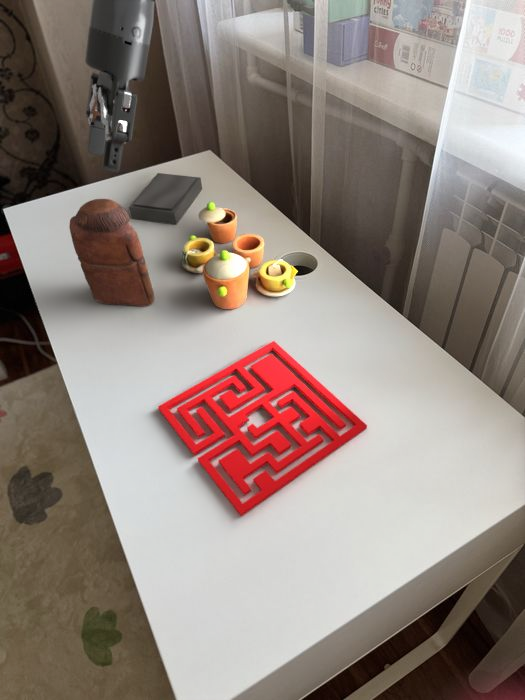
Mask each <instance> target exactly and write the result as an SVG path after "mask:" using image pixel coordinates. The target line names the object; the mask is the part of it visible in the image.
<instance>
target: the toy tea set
mask: <svg viewBox="0 0 525 700" xmlns="http://www.w3.org/2000/svg"><path fill="white" fill-rule="evenodd" d="M197 216H198V219H199V220H200V221H201V222H204V223H206V224H207V227H208V230H209V234H210V237H211V239H212V240H211V239H209V238H206V237H197V236H196V235H190V236H189V237H188V241H187V242H185V244H184V246H183V250H182V251H181V252H182V255H183V256H182V257H183V258H182V262H181V263H182V267H183V268H184V269H185V270H187V272H190V273H195V274H202V276H203V278H204V281H205V285H206V286H207V290H208V292H209V295H210V298H211V301H212V302H213V304H214V306H216V307H217V308H220V309H222V310H223V309H224V310H234V309H237V308H240V307H241V306H242V305H243V304H244V303H245V302H246V300H247V297H248V286H249V278H250V277H249V276H250V269H253V268H257V267H258V266H259V269H256V270H254V271H253V272H252V274H251V275H252V277H253V278H255V279H256V280H255V287H256V290H257V291H258V292H259V293H261V294H262V295H263V296H267V297H274V298H275V297H276V298H277V297H283V296H286V295H287V294H289V293H291V292H292V291H293V290H294V288H295V286H296V280H295V276H296V275H297V273H298V272H299V271H298V270H297V269H296V268H295V267H294V266H293V265H292V264H291V265H290V264H289V263H288V262H286V261H284V260H283V259H271V260H268V261H265V262H263V257H264V249H265V240H264V238H263V237H262V236H260V235H258V234H254V233H244V234H240V235H238V236H236V234H237V222H238V220H237V219H238V214H237V212H236V211H234V210H233V209H231V208H227V207H226V208H225V207H219V206H218V205H215V203H214V202H213V201H209V202H207V203H206V206H205V207H204V208H202V209H201V210H200V211H199V212H198V215H197ZM213 241H214V242H216V243H219V244H227V243H230V242H231V241H232V242H231V246H232V250H233V252H230V251H227V250H225V249H223V250H221V251H220V252H219V253H217V252H216V251H215V243H214V242H213ZM262 262H263V263H262Z"/></svg>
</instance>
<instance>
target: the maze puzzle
mask: <svg viewBox="0 0 525 700" xmlns="http://www.w3.org/2000/svg"><path fill="white" fill-rule="evenodd" d="M271 352H274V353H275V354H276V355H277V356H278V357H280V358H281V359H282V360H283V361H284V362H285V363H286V364H287V365H288V366H289V367H290V368H291V369H292V370H293V371H294V372H296V373H297V374H298V375H299V376H300V377H301V378H302V379H303V380H304V381H305V382H306V383H307V384H309V386H311V387H312V388H313V389H314V390H315V391H316V392H317V393H318V394H319V395H320V396H321V397H323V399H325V400H326V401H327V402H328V403H329V404H330V405H331V406H332V407H333V408H334V409H335V410H336V411H338V413H340V414H341V415H342V416H343V417H344V418H345V419H346V420H347V421H349V423H351V424H352V425H353V426H352V427H350V428H349V429H348V430H347V431H345V432H344V433H342V434H341V435H340V434H339V433H338V432H337V431H335V430H334V428H333V427H331V426H330V424H329V423H327V421H325V420H324V419H323V418H322V417H321V416H320V415H319V414H318V412H316V411H315V410H314V409H313V408H312V407H311V406H310V405H309V404H308V403H307V402H305V400H303V399H302V398H301V397H300V395H298V393H297V392H295V390H293V391H291V392H290V393H287V392H288V391H290V390H291V389H293V388H296V390H298V392H299V393H300V394H302V396H304V397H305V398H306V400H307V401H309V402H310V403H311V404H312V405H313V406H314V407H315V408H316V409H317V410H318V411H319V412H320V413H322V414H323V415H324V416H325V417H326V418H327V419H328V420H329V421H330V422H331V423H332V424H333V425H334V426H335V427H336V428H337V429H338V430H339V431H342V430H344V428H346V426H347V423H346V422H345V421H344V420H343V419H342V418H341V417H340V416H339V415H338V414H337V413H335V412H334V410H332V408H330V407H329V406H328V405H327V404H326V402H324V401H322V399H321V398H320V397H318V396H317V394H315V393H314V392H313V391H312V390H311V389H310V388H309V387H308V386H307V385H306V384H305V383H304V382H303V381H302V380H300V378H298V377H297V376H296V375H295V374H294V372H292V371H291V370H290V369H289V368H288V367H286V366H285V364H283V363H282V362H281V361H280V360H279V359H278V358H277V357H276V356H275V355H274V354H272V353H271ZM269 353H270V354H269ZM267 354H268V355H267ZM265 355H266V356H265ZM263 356H265V357H263ZM262 357H263V358H262ZM260 358H261V359H260ZM255 361H256V362H255ZM253 362H254V363H253ZM250 364H251V365H250ZM248 365H250V370H251V371H252V372H253V373H255V375H256V376H258V378H259V379H260V380H261V381H262V382H263V383H264V384H265V385H266V386H267V387H268V388H269V389H270V390H271V391H269V392H268V393H266V394H264V393H265V392H266V388H265V387H264V386H263V385H262V384H261V383H260V382H259V381H258V380H257V379H256V378H255V377H254V376H253V374H251V373H250V372H249V371H248V370H247V369H246V368H245V367H246V366H248ZM235 372H236V373H237V374H238V375H239V376H240V377H241V378H242V379H243V380H244V381H245V382H246V383H247V384H248V385H249V386H250V387H251V390H249V391H247V388H246V385H244V384H243V383H242V381H241V380H240V379H239V378H238V377H237V376H236V375H234V373H235ZM232 374H233V375H232ZM231 375H232V376H231ZM229 376H230V377H229ZM227 377H228V378H227ZM225 378H227V379H225ZM224 379H225V380H224ZM222 380H223V381H222ZM220 381H222V382H220ZM218 382H220V383H218ZM216 383H218V384H216ZM215 384H216V385H215ZM214 385H215V386H214ZM211 386H212V387H211ZM232 386H233V387H234V388H235V390H237V391H238V393H240V394H242V393H243V392H245V391H247V392H246V393H244V394H242V395H241V396H239V397H238V395H237V394H236V393H235V392H234V391H233V390H232V389H229V388H231V387H232ZM209 387H211V388H209ZM207 388H209V389H207ZM206 389H207V390H206ZM227 389H229V390H227ZM205 390H206V391H205ZM226 390H227V391H226ZM202 391H204V392H202ZM224 391H225V392H224ZM201 392H202V393H201ZM222 392H224V393H222ZM199 393H201V394H199ZM220 393H222V394H221V395H219V400H220V402H222V404H223V405H224V406H225V407H226V408H227V409H228V410H229V411H230V412H231V413H232V412H234V411H236V410H237V409H239V408H240V407H242V406H244V405H246V404H247V403H249V402H250V401H252V400H254V399H255V398H257V397H259V398H258V399H256V400H254V401H253V402H251V403H249V404H248V405H246V406H244V407H243V408H242V409H240V410H238V411H237V412H235V413H233V414H231V415H230V416H229V415H228V414H227V413H226V412H225V410H223V408H222V407H221V406H220V405H219V404H218V403H217V402H216V400H215V399H213V398H214V397H215V396H217V395H218V394H220ZM285 393H287V394H286V395H285V396H283V397H281V396H282V395H284V394H285ZM262 394H264V395H262ZM196 395H197V396H196ZM261 395H262V396H261ZM194 396H195V397H194ZM260 396H261V397H260ZM279 397H281V398H279ZM191 398H192V399H191ZM277 398H279V399H278V400H277V401H276V404H277V406H278V407H279V408H280V409H283V408H285V407H286V406H288V405H290V404H292V403H293V404H294V405H295V406H296V407H297V408H298V409H299V410H300V411H301V412H302V413H303V414H304V415H305V416H306V417H307V418H305V419H304V420H302V421H300V422H299V423H298V427H299V428H300V429H301V431H303V432H304V433H305V434H306V435H307V436H311V435H313V433H315V432H317V431H318V430H321V431H322V433H324V434H325V436H326V437H328V438H329V440H331V441H330V442H329V443H328V444H326V445H325V446H323V447H322V448H321V449H319V450H317V451H316V452H315V453H313V454H312V455H310V456H309V457H307V458H306V459H305V460H303V461H302V462H300V463H299V464H297V465H296V466H294V467H293V468H292V469H290V470H288V471H287V472H286V473H285V474H283V475H282V476H279V478H277V479H276V480H275V479H274V478H273V477H272V476H271V474H270V473H269V472H268V471H267V470H264V471H262V472H260V473H259V474H258V475H256V476H255V477H253V478H252V481H253V483H254V484H255V486H256V487H257V488H258V489H259V491H258V492H256V493H255V494H254V495H253V496H251V497H250V498H248V499H247V500H245V501H244V502H242V500H240V498H239V497H238V496H237V494H236V493H235V492H234V490H233V489H232V488H231V487H230V485H229V484H228V483H227V481H226V480H225V479H224V477H223V476H222V475H221V474H220V472H219V471H218V470H217V469H216V467H215V466H214V465H213V464H212V462H211V461H213V460H215V459H217V458H218V457H219V456H221V455H222V454H223V453H225V452H227V451H229V450H230V449H232V448H234V447H235V446H236V445H239V444H240V445H241V446H242V447H243V449H244V450H245V451H246V452H247V453H248V454H249V455H250V457H252V458H254V457H255V456H257V455H258V454H260V453H261V452H264V450H266V449H267V448H269V447H271V448H272V449H273V450H274V451H275V453H276V454H277V455H278V456H281V455H282V454H284V453H286V452H287V451H289V450H290V449H291V448H292V444H291V442H289V441H288V440H287V438H286V437H285V436H284V435H283V434H282V433H281V432H280V431H279V430H275V431H274V432H272V433H271V434H269V435H268V436H266V437H264V438H263V439H262V440H260V441H258V442H257V443H255V444H254V443H252V442H251V440H250V439H249V438H248V437H247V436H246V435H245V434H244V432H243V431H242V430H241V429H240V428H241V427H243V426H244V424H245V423H247V422H250V419H249V417H248V416H250V415H252V414H253V413H254V412H256V411H258V410H259V409H261V408H262V409H263V410H264V411H265V413H267V414H268V415H269V416H270V417H271V418H270V419H269V420H267V421H266V422H264V423H263V424H261V425H260V426H258V427H257V426H256V425H255V424H254V423H251V424H249V425H248V426H247V427H246V430H247V432H248V433H249V434H250V435H251V436H252V437H253V438H254V440H257V439H259V438H260V437H262V436H264V435H265V434H267V433H269V432H270V431H271V430H273V429H275V428H277V427H278V426H280V427H281V429H282V430H283V431H284V432H285V433H286V434H287V435H288V436H289V437H290V438H291V439H292V440H293V441H294V442H295V443H296V444H297V446H298V447H297V448H296V449H294V450H293V451H292V452H290V453H289V454H287V455H286V456H284V457H283V458H281V459H280V460H277V459H276V458H275V457H274V456H273V454H272V453H271V452H270V451H267V452H265V453H264V454H263V455H261V456H259V457H258V458H256V459H255V460H254V461H252V462H251V463H250V462H249V460H248V459H247V458H246V457H245V456H244V454H243V453H242V452H241V450H239V448H235V449H234V450H232V451H231V452H230V453H228V454H226V455H224V456H223V457H222V458H220V459H218V464H219V465H220V466H221V467H222V469H223V470H224V471H225V473H226V474H227V475H228V477H230V479H231V481H232V482H233V483H234V484H235V485H236V487H237V488H238V489H239V490H240V491H241V493H242V494H243V495H244V496H247V495H249V494H251V492H252V487H250V485H249V484H248V483H247V482H246V481H245V479H247V478H249V477H250V476H252V475H253V474H254V473H256V472H257V471H259V470H260V469H262V468H263V467H264V466H266V465H268V466H269V467H270V469H272V470H273V472H274V473H275V474H276V475H277V474H279V473H281V472H282V471H283V470H285V469H286V468H288V467H290V466H291V465H292V464H294V463H295V462H297V461H298V460H299V459H301V458H302V457H304V456H305V455H307V454H308V453H309V452H311V451H313V450H314V449H316V448H317V447H318V446H320V445H322V444H323V443H324V442H325V438H323V436H322V435H321V434H320V433H318V434H316V435H315V436H314V437H312V438H311V439H309V440H307V439H306V438H305V437H303V435H302V434H301V433H300V432H299V431H298V430H297V429H296V428H295V427H294V426H293V424H294V423H295V422H297V421H299V420H300V419H301V414H300V413H299V412H298V411H296V409H294V407H293V406H290V407H288V408H286V409H285V410H284V411H282V412H280V411H279V410H278V409H277V408H276V407H275V406H274V405H273V404H272V403H271V402H272V401H274V400H276V399H277ZM189 399H190V400H189ZM187 400H188V401H187ZM186 401H187V402H186ZM184 402H185V403H184ZM182 403H183V404H182ZM203 403H205V404H206V405H207V406H208V408H209V409H210V410H211V412H212V413H214V415H215V416H216V417H217V418H218V419H219V421H221V423H222V424H223V425H224V426H225V428H227V430H228V431H229V432H230V433H231V434H232V436H231V437H229V438H228V439H226V440H224V441H223V442H221V443H219V444H218V445H217V446H214V447H213V448H211V449H210V450H208V451H207V452H205V453H203V454H202V455H200V456H198V457H197V461H198V463H199V464H200V466H201V467H202V468H203V469H204V471H205V472H206V473H207V474H208V476H209V477H210V478H211V480H212V481H213V482H214V484H215V485H216V486H217V487H218V488H219V490H220V492H221V493H222V494H223V495H224V496H225V498H226V499H227V501H228V502H229V503H230V504H231V506H232V507H233V508H234V509H235V511H236V512H237V513H238V515H239V516H240V517H243V516H244V515H246V514H248V513H249V512H250V511H252V510H253V509H254V508H256V507H257V506H259V505H260V504H261V503H263V502H264V501H265V500H267V499H268V498H270V497H271V496H273V495H274V494H276V493H277V492H279V491H280V490H282V489H283V488H284V487H285V486H287V485H288V484H290V483H292V482H293V481H294V480H295V479H297V478H298V477H300V476H301V475H303V474H304V473H305V472H307V471H309V470H311V468H313V467H314V466H316V465H317V464H318V463H320V462H322V461H323V460H324V459H325V458H327V457H328V456H330V455H331V454H333V453H334V452H336V451H337V450H338V449H340V448H341V447H343V446H344V445H346V444H347V443H348V442H350V441H351V440H352V439H354V438H355V437H357V436H358V435H360V434H361V433H363V432H364V431H365V430H367V429H368V424H367V423H365V422H364V421H363V420H362V419H360V417H359V416H358V415H356V414H355V413H354V412H353V411H352V410H351V409H350V408H348V407H347V406H346V405H345V404H344V403H343V402H342V401H341V400H340V399H338V397H336V395H334V394H333V393H332V392H331V391H330V390H329V389H328V388H327V387H326V386H324V385H323V384H322V383H321V382H320V381H319V380H318V379H316V377H314V376H313V374H311V373H310V372H309V371H308V370H307V369H306V368H305V367H304V366H303V365H301V364H300V363H299V362H298V361H297V360H296V359H295V358H293V356H291V355H290V354H289V353H288V352H287V351H286V350H285V349H283V348H282V347H281V345H279V344H278V343H277V342H276V341H275V340H272V341H271V342H269V343H267V344H266V345H264V346H262V347H260V348H258V349H257V350H254V351H253V352H251V353H250V354H248V355H246V356H243V358H241V359H239V360H237V361H235V362H233V363H232V364H230V365H228V366H226V367H225V368H223V369H221V370H220V371H218V372H216V373H214V374H212V375H211V376H209V377H207V378H205V379H204V380H202V381H200V382H198V383H196V384H195V385H193V386H191V387H190V388H187V389H186V390H184V391H183V392H181V393H179V394H176V396H173V397H172V398H170V399H168V400H167V401H165V402H163V403H161V404H160V405H158V406H157V409H158V411H159V412H160V414H162V416H163V417H164V418H165V420H166V421H167V422H168V423H169V425H170V426H171V428H172V429H173V430H174V431H175V433H176V434H177V435H178V437H179V438H180V439H181V441H182V442H183V444H185V446H186V447H187V448H188V450H189V451H190V452H191V454H192V455H193V456H194V457H195V456H197V455H199V454H200V453H202V452H204V451H205V450H206V449H208V448H210V447H211V446H213V445H215V444H216V443H218V442H219V441H221V440H223V439H225V437H226V433H225V432H224V431H223V429H222V428H221V427H220V425H218V424H217V423H216V421H215V420H214V418H213V417H212V416H211V415H210V414H209V413H208V412H207V411H206V410H205V408H204V407H203V406H200V405H202V404H203ZM180 404H181V405H180ZM178 405H179V406H178ZM176 406H178V407H176ZM198 406H200V407H198ZM175 407H176V410H177V411H176V412H177V413H178V414H179V415H180V416H181V418H182V419H183V420H184V421H185V423H186V424H187V425H188V427H190V429H191V430H192V432H193V433H194V434H195V435H196V436H197V438H198V439H201V438H203V437H204V436H206V432H205V430H204V429H203V428H202V426H201V425H200V424H199V423H198V422H197V420H196V418H194V417H193V416H192V414H191V413H190V411H192V410H193V409H195V408H196V409H195V412H196V415H198V417H199V418H200V419H201V420H202V421H203V423H204V424H205V425H206V426H207V428H208V429H209V430H210V431H211V432H212V434H209V436H207V437H205V438H204V439H202V440H201V441H199V442H198V443H196V442H195V441H194V440H193V438H192V437H191V435H190V434H189V432H187V430H186V429H185V428H184V427H183V426H182V424H181V423H180V422H179V420H178V419H177V417H176V416H175V415H174V414H173V412H172V411H171V409H174V408H175ZM197 407H198V408H197Z"/></svg>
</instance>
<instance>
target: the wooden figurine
mask: <svg viewBox="0 0 525 700" xmlns="http://www.w3.org/2000/svg"><path fill="white" fill-rule="evenodd" d="M130 222H131V216H130V214H129V213H128V212H127V210H126V209H125V208H124V207H123V206H122V205H121V204H120V203H118V202H117V201H115V200H113V199H109V198H94V199H91V200H89V201H86V202H84V203H83V204H82V205H81V206H80V207H79V209H78V210H77V212H76V214H75V215H74V216H72V217H71V218H70V220H69V227H68V228H69V232H70V237H71V241H72V244H73V248H74V251H75V254H76V256H77V259H78V261H79V262H80V268H81V270H82V272H83V275H84V278H85V281H86V283H87V285H88V287H89V289H90V292H91V294H92V296H93V299H94V300H95V301H97V302H99V303H102V304H105V305H114V306H115V305H119V306H120V305H121V306H123V305H124V306H137V307H138V306H139V307H148V306H151V305H152V304H153V303H154V302H155V293H154V289H153V285H152V282H151V278H150V274H149V271H148V266H147V263H146V260H145V256H144V253H143V248H142V244H141V240H140V238H139V236H138V232H137V231H136V230H135V228H134V227H133V226H132V225H130Z"/></svg>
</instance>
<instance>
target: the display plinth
mask: <svg viewBox="0 0 525 700" xmlns="http://www.w3.org/2000/svg"><path fill="white" fill-rule="evenodd" d="M202 190H203V184H202V178H201V177H200V176H190V175H180V174H171V173H161V172H158V173H156V174H155V176H153V178H152V179H151V180H150V182H149V183H148V184H147V185H146V186H145V187H144V188H143V190H142V191H141V192H140V193H139V194H138V195H137V197H135V199H134V200H133V201H132V202H131V204H130V205H129V206H128V211H129V216H130V220H131V219H132V220H137V221H145V222H152V223H161V224H169V225H175V226H176V225H178V223H179V222H180V221H181V219H182V218H183V216H184V215H185V214H186V212H187V211H188V210H189V209H190V207H191V205H192V204H193V203H194V202H195V200H196V199H197V198H198V196H199V194H200V193H201V191H202Z"/></svg>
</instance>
